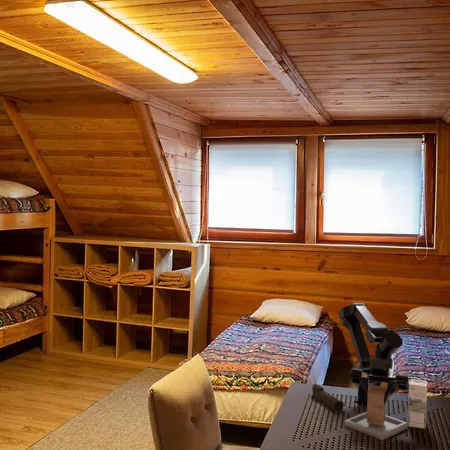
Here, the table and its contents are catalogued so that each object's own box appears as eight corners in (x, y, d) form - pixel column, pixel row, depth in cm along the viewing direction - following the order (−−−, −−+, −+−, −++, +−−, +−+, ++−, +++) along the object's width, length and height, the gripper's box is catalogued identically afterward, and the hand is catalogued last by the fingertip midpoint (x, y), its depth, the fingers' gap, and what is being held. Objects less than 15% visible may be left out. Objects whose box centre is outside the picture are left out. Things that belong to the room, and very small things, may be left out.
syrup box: (425, 423, 190) (427, 380, 189) (425, 429, 184) (427, 385, 184) (407, 420, 192) (409, 378, 191) (407, 427, 186) (408, 383, 185)
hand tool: (344, 411, 200) (344, 398, 199) (333, 413, 198) (334, 399, 198) (319, 393, 218) (319, 381, 217) (310, 394, 216) (310, 382, 216)
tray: (370, 415, 196) (370, 410, 195) (407, 428, 185) (407, 422, 185) (345, 426, 186) (345, 420, 186) (382, 440, 176) (382, 434, 176)
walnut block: (369, 417, 189) (370, 384, 188) (385, 420, 187) (386, 387, 186) (366, 423, 184) (367, 389, 184) (382, 425, 182) (383, 391, 182)
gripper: (351, 344, 192) (343, 386, 182) (409, 351, 184) (404, 395, 175) (355, 361, 199) (348, 402, 190) (411, 368, 192) (406, 412, 182)
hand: (375, 403), depth 184 cm, fingers closed on walnut block, 5 cm apart
